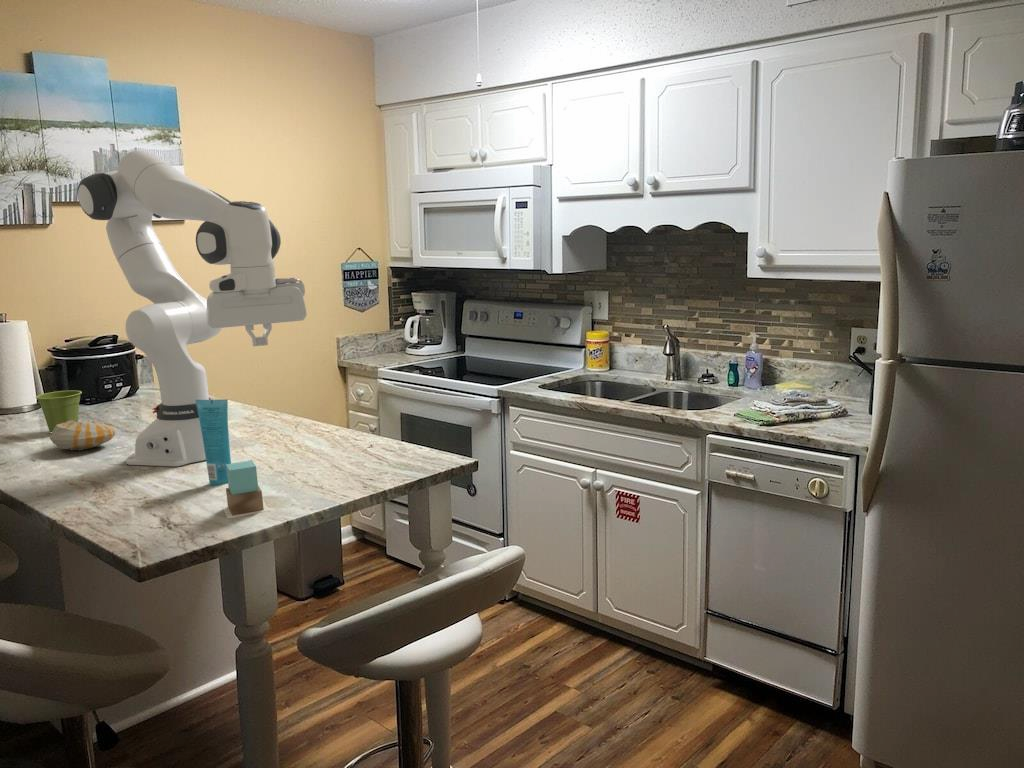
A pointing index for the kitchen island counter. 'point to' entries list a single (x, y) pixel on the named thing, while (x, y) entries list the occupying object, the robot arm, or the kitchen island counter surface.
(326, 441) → the kitchen island counter surface
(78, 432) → the nautilus
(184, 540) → the kitchen island counter surface
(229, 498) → the walnut block
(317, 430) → the kitchen island counter surface
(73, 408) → the plant pot
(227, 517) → the slate mat
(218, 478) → the tube
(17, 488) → the kitchen island counter surface
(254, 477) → the teal cube
